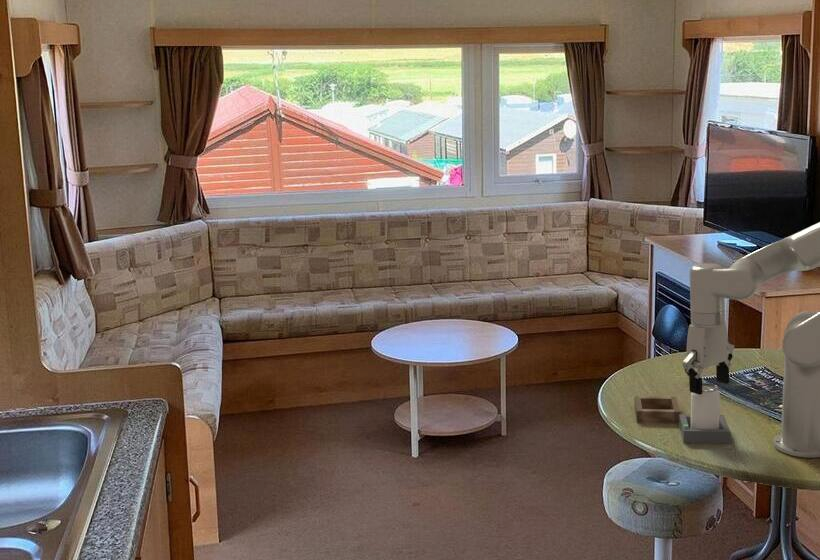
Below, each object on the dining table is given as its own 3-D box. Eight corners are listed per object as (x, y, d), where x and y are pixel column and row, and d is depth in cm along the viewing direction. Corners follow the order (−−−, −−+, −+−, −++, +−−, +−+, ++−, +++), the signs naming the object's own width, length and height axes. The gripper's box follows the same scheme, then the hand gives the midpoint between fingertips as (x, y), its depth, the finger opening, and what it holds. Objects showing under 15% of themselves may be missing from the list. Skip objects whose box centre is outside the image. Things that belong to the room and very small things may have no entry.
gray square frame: (723, 426, 229) (723, 412, 228) (729, 444, 219) (730, 429, 218) (679, 425, 231) (679, 411, 230) (683, 442, 221) (683, 428, 220)
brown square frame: (676, 407, 242) (676, 396, 242) (680, 423, 232) (680, 411, 232) (634, 407, 244) (634, 396, 244) (636, 422, 234) (636, 411, 234)
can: (700, 442, 221) (701, 393, 218) (685, 432, 227) (685, 384, 224) (724, 437, 223) (725, 389, 220) (708, 428, 229) (710, 381, 226)
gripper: (718, 307, 226) (719, 375, 230) (669, 322, 217) (672, 393, 220) (745, 311, 220) (746, 381, 224) (696, 328, 210) (698, 401, 214)
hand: (709, 387), depth 222 cm, fingers open, 9 cm apart
